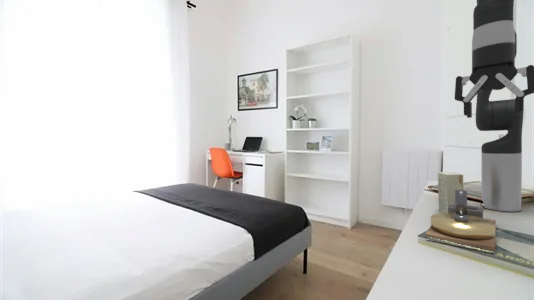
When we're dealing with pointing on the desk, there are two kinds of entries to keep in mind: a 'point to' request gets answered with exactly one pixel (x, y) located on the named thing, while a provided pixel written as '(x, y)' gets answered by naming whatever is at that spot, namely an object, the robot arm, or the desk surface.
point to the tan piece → (478, 243)
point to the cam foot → (462, 221)
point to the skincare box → (448, 188)
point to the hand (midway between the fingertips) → (492, 116)
